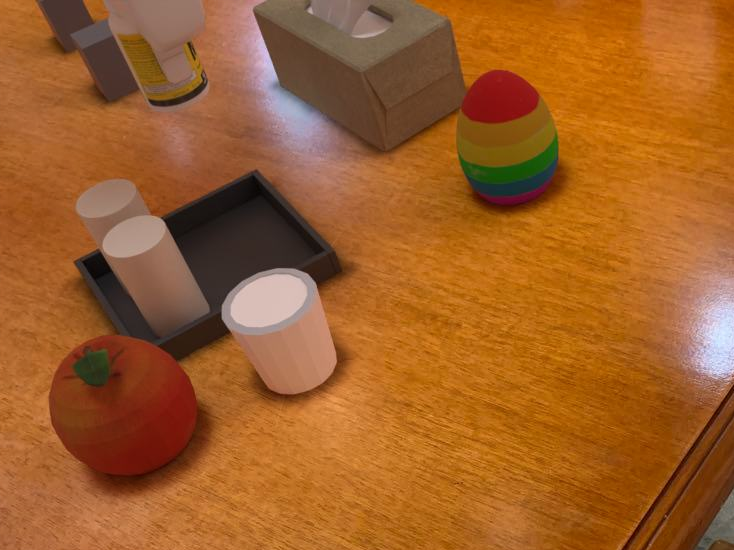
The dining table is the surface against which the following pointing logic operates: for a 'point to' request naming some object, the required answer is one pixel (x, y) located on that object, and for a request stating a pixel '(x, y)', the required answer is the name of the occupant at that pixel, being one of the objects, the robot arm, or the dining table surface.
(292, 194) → the dining table surface
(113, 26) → the supplement bottle
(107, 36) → the grey block right
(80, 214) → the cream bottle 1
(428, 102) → the tissue box
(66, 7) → the grey block left
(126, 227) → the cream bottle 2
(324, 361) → the white cup
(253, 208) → the tray
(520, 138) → the decorative egg
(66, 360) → the fruit
